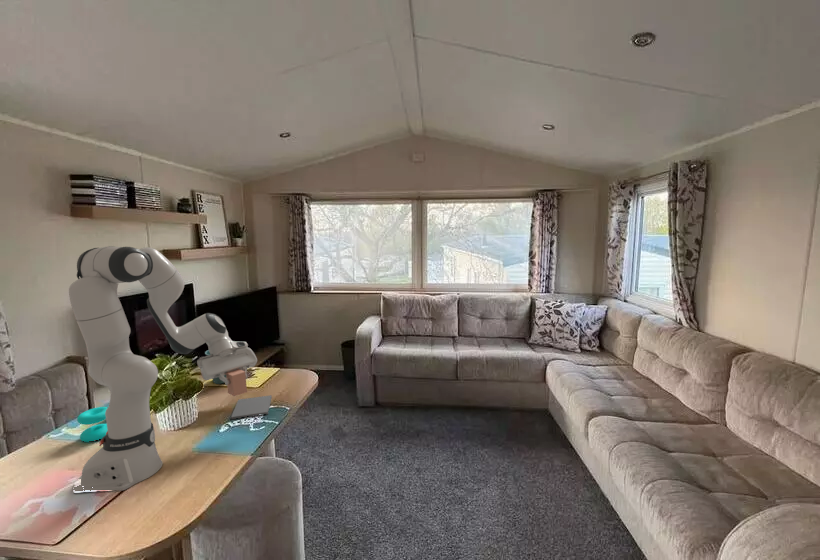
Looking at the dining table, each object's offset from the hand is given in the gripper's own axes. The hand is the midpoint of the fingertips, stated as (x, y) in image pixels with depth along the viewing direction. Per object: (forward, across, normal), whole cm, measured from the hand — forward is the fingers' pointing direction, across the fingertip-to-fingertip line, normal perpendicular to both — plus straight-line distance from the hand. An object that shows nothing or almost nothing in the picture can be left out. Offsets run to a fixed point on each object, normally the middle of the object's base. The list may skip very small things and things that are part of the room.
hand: (237, 381), depth 146 cm
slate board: (+4, +12, +23) cm, 26 cm away
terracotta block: (+3, 0, +4) cm, 5 cm away
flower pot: (-26, +19, +53) cm, 62 cm away
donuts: (-14, -37, +41) cm, 57 cm away
